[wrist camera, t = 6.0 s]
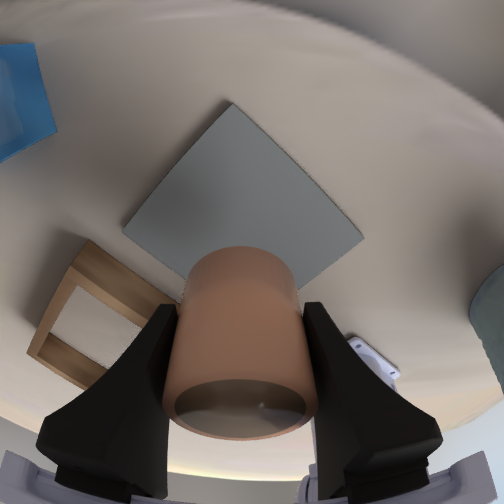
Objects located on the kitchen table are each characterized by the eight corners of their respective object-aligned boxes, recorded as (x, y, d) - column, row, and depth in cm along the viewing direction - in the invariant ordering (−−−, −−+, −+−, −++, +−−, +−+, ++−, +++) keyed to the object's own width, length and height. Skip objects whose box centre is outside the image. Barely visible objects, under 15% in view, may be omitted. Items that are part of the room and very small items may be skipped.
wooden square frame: (242, 343, 24) (241, 374, 22) (152, 398, 30) (148, 422, 27) (89, 239, 19) (70, 265, 16) (38, 330, 24) (26, 353, 22)
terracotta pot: (316, 296, 14) (345, 411, 9) (236, 343, 16) (235, 450, 11) (247, 223, 12) (249, 347, 7) (163, 287, 14) (132, 404, 9)
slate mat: (362, 234, 19) (364, 238, 18) (250, 319, 23) (250, 324, 22) (232, 103, 14) (232, 103, 14) (124, 228, 18) (121, 232, 18)
